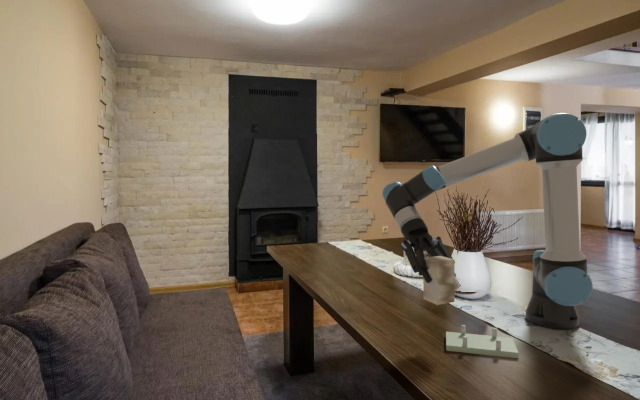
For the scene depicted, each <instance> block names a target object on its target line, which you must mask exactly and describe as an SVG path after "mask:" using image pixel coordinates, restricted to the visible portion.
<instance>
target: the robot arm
mask: <svg viewBox="0 0 640 400" xmlns="http://www.w3.org/2000/svg"><path fill="white" fill-rule="evenodd" d="M587 135H588V134H587V129H586V125H585V123H584V122H583V120H581V118H579V117H578V116H576V115H574V114H572V113H568V112H567V113H566V112H560V113H558V112H557V113H553V114H550V115H548V116H546V117H545V118H543V119H541V120H540V121H538V122H537V123H535V124H534V125H532V126H530V127H528V128H527V129H525V130H523V131H519V132H517V133H515V135H514V136H513V138H511V139H508V140H505V141H503V142H500V143H497V144H495V145H491V146H490V147H486V148H484V149H481V150H479V151H476V152H473V153H471V154H468V155H466V156H463V157H461V158H458V159H456V160H452V161H450V162H446V163H445V164H442V165H439V166H435V165H430V166H428V167H426V168H424V169H423V170H422V171H421V172H419V173H417V174H416V175H414V176H413V177H412V178H410V179H409V180H408V181H406V182H404V183H401V182H399V181H393V182H391V183H388V184H387V185H385V187H384V188H383V189H382V197H383V199H384V202H385V204H386V206H387V208H388V210H389V211H390V213H391V215H392V216H393V218H394V221H395V222H396V225H397V227H398V229H399V230H400V232H401V234H402V236H403V238H404V240H403V241H402V242H401V244H400V248H401V249H402V250H403V251H404V253H405V256H406V258H407V260H408V262H409V264H410V267H411V269H412V270H413V273H414V274H418V275H419V276H422V277H424V279H425V281H426V282H427V283H429V285H430V287H431V289H432V291H433V293H434V295H435V294H437V293H438V292H439V291H440V290H441V288H440V286H439V284H438V282H437V280H436V279H435V277H434V275H433V273H432V271H431V269H428V270H427V265H426V261H425V259H424V258H426V256H425V252H426V253H427V254H429V255H430V257H434V256H443V257H447V258H451V259H454V258H453V256H452V255H451V254H450V252H449V251H448V249H447V247H446V246H445V245H444V243H443V241H442V238H441V236H437V237H433V236H432V235H431V234H430V233H429V230H428V226H427V224H426V223H425V221H424V219H423V218H422V215H421V214H420V213H419V210H418V208H416V204H418V203H420V202H421V201H423V200H424V199H426V198H427V197H429V196H430V195H432V194H434V193H435V192H437V191H440V190H443V189H446V188H449V187H451V186H454V185H457V184H459V183H462V182H464V181H468V180H470V179H474V178H476V177H479V176H482V175H484V174H486V173H489V172H493V171H496V170H498V169H501V168H504V167H506V166H509V165H513V164H515V163H517V162H521V161H524V162H530V161H533V160H535V164H536V165H537V166H538V167H540V168H541V173H542V195H543V196H542V197H543V199H542V200H543V215H544V216H543V218H544V219H543V221H544V238H545V240H544V241H545V244H544V245H545V249H537V250H534V251H533V254H532V287H531V288H532V289H531V290H532V291H531V292H532V293H531V298H530V299H529V302H528V304H527V307H526V309H525V319H526V320H527V321H528V322H529V323H532V324H535V325H537V326H541V327H545V328H549V329H555V330H557V329H558V330H572V329H576V328H578V327H579V325H580V317H579V313H578V310H577V307H576V306H578V305H581V304H583V303H585V302H586V301H587V300H588V299H589V298H590V297H591V295H592V292H593V282H592V278H591V277H590V275H589V274H588V260H587V258H588V257H587V256H586V254H584V253H583V252H582V251H581V245H580V243H581V242H580V220H579V219H580V218H579V196H578V195H579V193H578V172H577V171H578V166H579V164H581V162H583V158H584V157H583V146H584V145H585V142H586V139H587ZM455 263H456V261H455V260H454V265H455ZM458 280H459V279H457V274H456V272H455V271H454V292H457V291H456V290H457V289H458V288H459V287H460V286H461V285H460V284H459V282H458Z"/></svg>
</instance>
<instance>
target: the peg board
mask: <svg viewBox="0 0 640 400" xmlns="http://www.w3.org/2000/svg"><path fill="white" fill-rule="evenodd" d="M466 327H467V326H466V325H465V324H461V327H460V330H461V331H460V332H455V331H445V349H446V351H447V352H456V353H465V354H472V355H483V356H492V357H493V356H494V357H501V358H510V359H511V358H512V359H519V355H520V354H519V351H518V348H517V346H516V342H515V341H514V338H513V337H507V336H498V328H497V327H492V329H491V330H492V331H491V332H492V334H491V335H487V334H486V335H485V334H475V333H466V331H467V330H466Z"/></svg>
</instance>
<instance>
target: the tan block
mask: <svg viewBox="0 0 640 400" xmlns="http://www.w3.org/2000/svg"><path fill="white" fill-rule="evenodd" d="M424 259H425V261H426V265H427V270H428V269H431V271H432V273H433V275H434V277H435V279H436V280H437V282H438V284H439V286H440V288H441V290H440V291H439V292H438V293H437V294H435V295H434V293H433V291H432V289H431V287H430V285H429V283H427V282H426V281H425V279H424V277H423V276H422V277H423V278H422V279H423V280H422V282H423V285H422V286H423V289H422V290H423V294H422V295H423V296H422V297H423V300H425V301H426V302H429V303H432V304H434V305H436V306H439V305H444V304H450V303H451V304H452V303H454V302H455V291H454V272H455V264H454V261H455V259H454V258H453V259H451V258H447V257H443V256H434V257H432V256H425V258H424Z"/></svg>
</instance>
